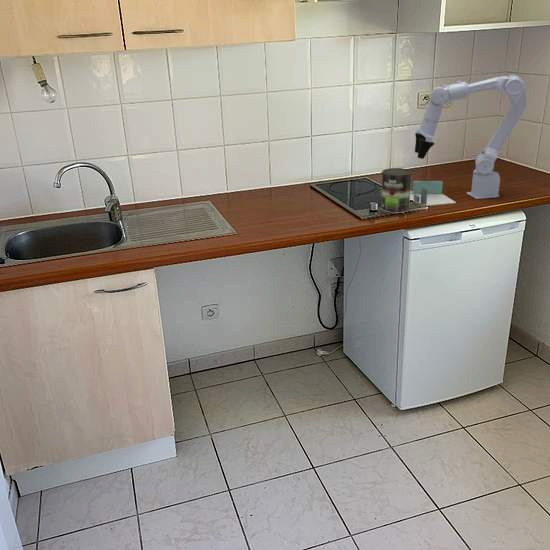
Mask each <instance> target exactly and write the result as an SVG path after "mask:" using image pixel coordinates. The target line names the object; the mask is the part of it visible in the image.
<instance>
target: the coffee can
mask: <svg viewBox="0 0 550 550" xmlns="http://www.w3.org/2000/svg"><path fill="white" fill-rule="evenodd" d="M381 174H382V176H381V177H382V178H381V179H382V181H381V195H380V196H381V197H380V198H381V199H380V200H381V201H380V209H381V208H382V209H383V210H386V211H390V212H398V213H403V214H405V213H404V212H405V211H407V210H408V209H409V210H410V204H411V202H410V191H412V189H411V188H412V180H411V177H412V175H413V171H412V170H410V169H407V168H399V167H392V168H385V169H383V170H382V171H381Z"/></svg>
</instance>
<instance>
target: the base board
mask: <svg viewBox="0 0 550 550" xmlns="http://www.w3.org/2000/svg"><path fill="white" fill-rule="evenodd" d="M412 191H413V190H411V191H410V200H413V201H414V195H417V196H419V197H420V200H419V202H418V203H421V193H412ZM452 204H457V202H456V201H455V200H453V199H451V198H449V197H448V196H447V195H445V194H444V193H442V194H433V193H427V203H426V204H425V205H426V206H425V207H428V206H429V207H432V206H440V205H441V206H442V205H452Z"/></svg>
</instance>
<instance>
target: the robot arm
mask: <svg viewBox="0 0 550 550" xmlns="http://www.w3.org/2000/svg"><path fill="white" fill-rule="evenodd" d="M489 90H495V91H498V92H503V91H504V92H505V94H506V95H507V96H508V100H509V103H510V105H509V108H508V110H507V112H506V113H505V115H504V117H503V118H502V119H501V122H500V123H499V124H498V127H497V128H496V130H495V132H494V134H493V136H492V137H491V138H490V140H489V141H488V144H487V145H486V146H485V147H484V149H483V150H482V151H481V152H480V153H479V154H477V155H476V157H475V159H474V161H475V162H474V163H475V169H474V170H473V171H472V180H471V181H472V182H471V191H467V192H466V194H467V195H468V196H470V197H472V198H473V199H476V200H480V199H490V198H491V199H492V198H500V195H499V191H500V184H501V176H500V174H499V172H497V171H494V168H495V162H496V160H497V159H498V156H499V153H500V152H501V150H502V148H503V146H504V144H505V143H506V141H507V140H508V138H509V136H510V134H511V133H512V131H513V129H514V128H515V127H516V125H517V123H518V122H519V120H520V118H521V116H522V114H523V113H524V112H525V109H527V106H528V105H527V87H526V84H525V82H524V80H523V79H522V78H521V77H520V76H519V75H517V74H510V75H501V76H495V77H492V78H488V79H484V80H481V81H476V82H473V83H467V82H466V81H462V80H457V81H456V83H452V84H443V87H442V86H436V87H435V88H433V89H432V91H431V92H430V99H429V100H428V102H427V104H428V105H427V106H426V109H425V111H424V114H423V117H422V121H421V124H420V127H419V129H418V128H416V129H415V145H414V153H417V158H418V159H421V160H424V159H425V157H426V155H427V154H428V152H429V151H430V150H431V148H432V147H433V146H434V145H435V142H433V141H432V140H433V138H434V136H435V135H436V134H435V133H436V130H437V127H438V124H439V120H440V119H441V116H442V112H443V107H444V104H445V103H446V102H448V103H449V102H453V101H459V100H462V99H467V98H468V96H469V95H470V94H473V93H479V92H485V91H489Z"/></svg>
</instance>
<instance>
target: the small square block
mask: <svg viewBox="0 0 550 550" xmlns="http://www.w3.org/2000/svg"><path fill="white" fill-rule="evenodd" d="M427 190H428V189H426V188H422V190H421V204H423V205H425V204H426V203H427ZM419 200H420V197H419V196H417V195H414V201H416V202H417V203H418V202H419Z"/></svg>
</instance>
